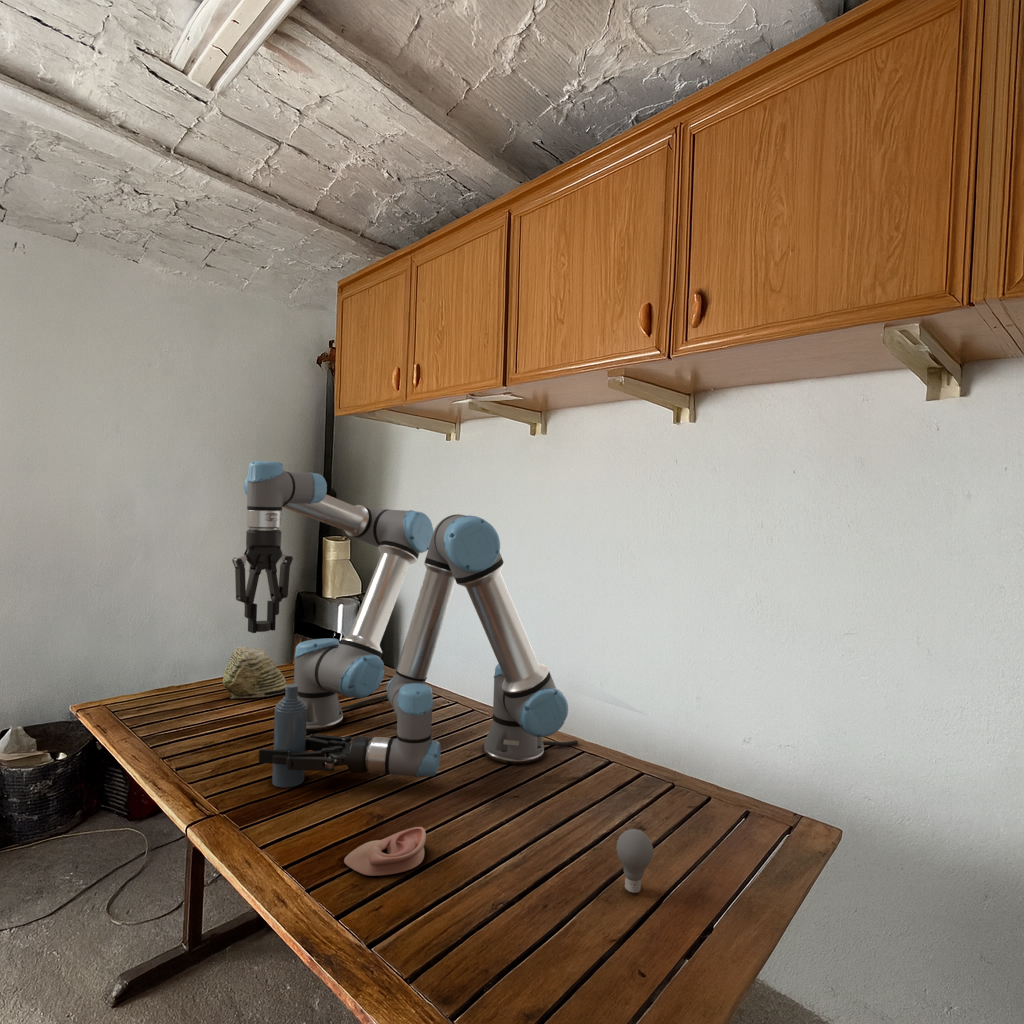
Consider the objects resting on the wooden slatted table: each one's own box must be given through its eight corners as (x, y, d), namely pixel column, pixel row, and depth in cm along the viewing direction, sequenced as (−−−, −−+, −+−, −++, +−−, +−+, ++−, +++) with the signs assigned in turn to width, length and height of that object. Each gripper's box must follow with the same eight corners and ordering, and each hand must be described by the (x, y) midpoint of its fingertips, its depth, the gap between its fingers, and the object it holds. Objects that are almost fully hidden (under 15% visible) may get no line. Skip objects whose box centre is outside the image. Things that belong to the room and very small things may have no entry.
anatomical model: (336, 847, 108) (365, 815, 119) (335, 870, 108) (364, 836, 119) (410, 859, 105) (432, 825, 116) (409, 883, 105) (431, 846, 116)
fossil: (218, 695, 195) (220, 647, 195) (278, 685, 208) (279, 640, 207) (228, 703, 189) (230, 653, 188) (289, 692, 201) (290, 645, 201)
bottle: (290, 771, 145) (293, 679, 145) (310, 779, 142) (314, 684, 141) (265, 782, 139) (268, 686, 139) (286, 790, 136) (289, 692, 136)
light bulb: (610, 879, 108) (613, 822, 108) (644, 879, 109) (647, 822, 109) (619, 902, 102) (622, 840, 102) (655, 901, 103) (658, 840, 103)
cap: (253, 628, 147) (253, 620, 146) (271, 628, 148) (271, 620, 148) (251, 632, 143) (252, 624, 143) (270, 631, 144) (270, 623, 144)
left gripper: (234, 530, 136) (231, 638, 137) (306, 529, 148) (303, 628, 149) (219, 528, 141) (217, 632, 142) (290, 527, 153) (288, 623, 154)
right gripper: (356, 792, 130) (246, 785, 131) (379, 754, 150) (284, 748, 151) (357, 756, 130) (247, 749, 131) (381, 722, 150) (285, 717, 150)
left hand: (261, 630), depth 145 cm, fingers closed on cap, 4 cm apart
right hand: (267, 749), depth 141 cm, fingers closed on bottle, 7 cm apart
